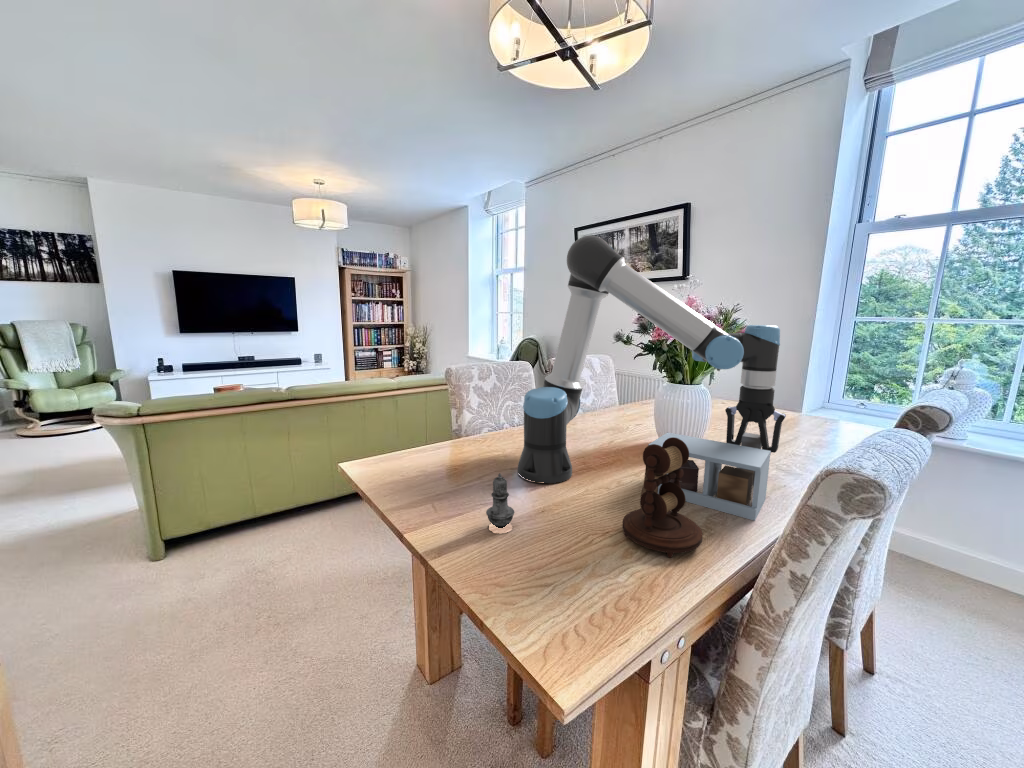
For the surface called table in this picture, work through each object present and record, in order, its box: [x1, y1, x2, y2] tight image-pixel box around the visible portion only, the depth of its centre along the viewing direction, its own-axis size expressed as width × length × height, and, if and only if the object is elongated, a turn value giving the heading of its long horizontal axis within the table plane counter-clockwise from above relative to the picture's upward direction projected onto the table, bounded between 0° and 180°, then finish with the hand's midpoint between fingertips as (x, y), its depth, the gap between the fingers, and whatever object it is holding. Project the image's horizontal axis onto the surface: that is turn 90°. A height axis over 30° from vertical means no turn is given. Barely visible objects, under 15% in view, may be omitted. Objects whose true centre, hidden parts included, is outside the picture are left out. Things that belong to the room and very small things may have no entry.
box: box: [668, 459, 700, 493], centre depth 101 cm, size 6×6×7 cm
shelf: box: [647, 432, 772, 522], centre depth 99 cm, size 24×14×12 cm, turn 50°
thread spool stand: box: [622, 437, 703, 559], centre depth 79 cm, size 15×15×20 cm
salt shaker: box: [485, 473, 515, 528], centre depth 84 cm, size 6×6×12 cm
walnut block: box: [716, 431, 762, 506], centre depth 100 cm, size 6×21×12 cm, turn 140°
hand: (748, 473), depth 107 cm, fingers closed on walnut block, 4 cm apart
